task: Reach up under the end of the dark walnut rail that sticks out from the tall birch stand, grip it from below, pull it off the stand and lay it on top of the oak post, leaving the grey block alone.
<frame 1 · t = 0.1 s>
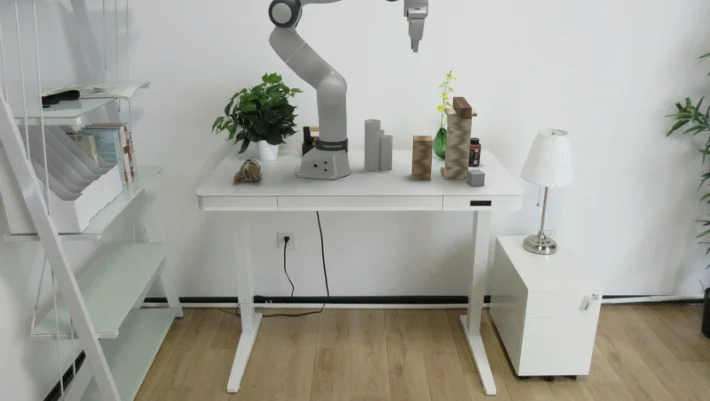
hand: (414, 50, 204), 48 cm above the table, tool pointing down, fingers open, 8 cm apart
oak post: (421, 177, 217), on the table
walnut rail: (461, 112, 207), point 26 cm above the table, touching birch stand
vase: (377, 168, 228), on the table
birch stand: (455, 175, 220), on the table
supplement bottle: (472, 165, 233), on the table
ceramic sculpture: (250, 180, 215), on the table
grey block: (474, 184, 210), on the table
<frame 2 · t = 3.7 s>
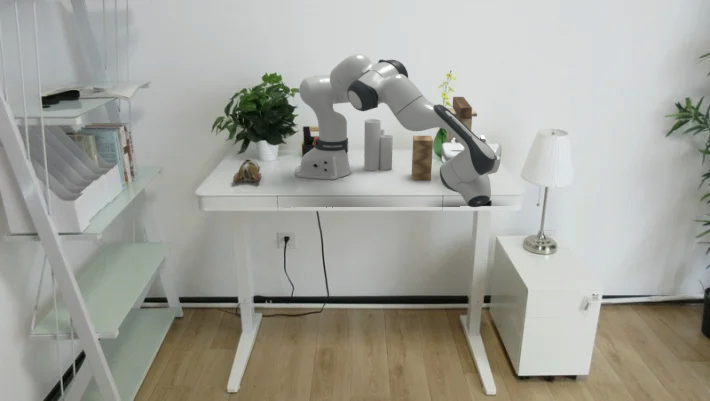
hand: (468, 136, 192), 22 cm above the table, tool pointing upward, fingers open, 8 cm apart
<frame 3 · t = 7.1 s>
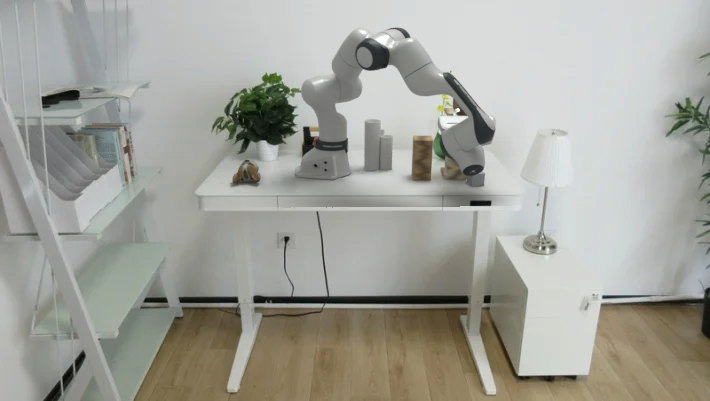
hand: (464, 110, 200), 28 cm above the table, tool pointing upward, fingers closed on walnut rail, 4 cm apart
walnut rail: (461, 112, 207), point 26 cm above the table, touching birch stand, gripper
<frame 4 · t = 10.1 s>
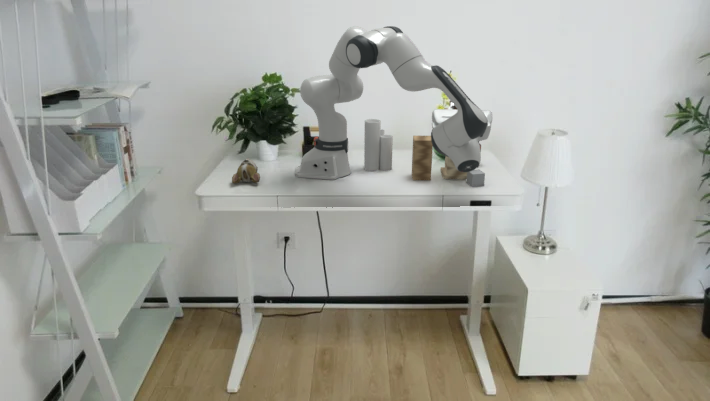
hand: (460, 103, 192), 32 cm above the table, tool pointing upward, fingers closed on walnut rail, 4 cm apart
walnut rail: (457, 112, 199), point 28 cm above the table, tilted 11°, touching gripper
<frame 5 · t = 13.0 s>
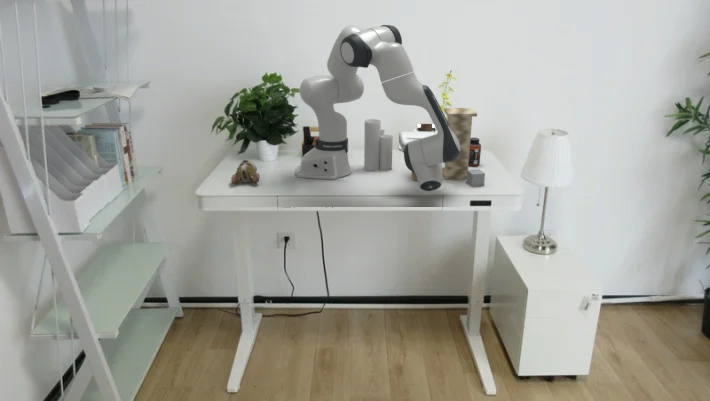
hand: (425, 125, 203), 23 cm above the table, tool pointing upward, fingers closed on walnut rail, 4 cm apart
walnut rail: (423, 135, 209), point 17 cm above the table, tilted 16°, touching gripper
when the fingers open (20 cm above the table, at t = 14.5 s): walnut rail stays where it is, resting on oak post.
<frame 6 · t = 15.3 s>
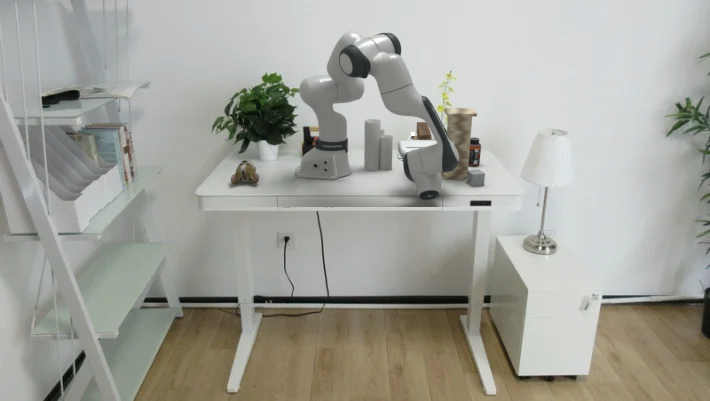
hand: (424, 133, 204), 19 cm above the table, tool pointing upward, fingers open, 8 cm apart
walnut rail: (423, 138, 211), point 16 cm above the table, touching oak post
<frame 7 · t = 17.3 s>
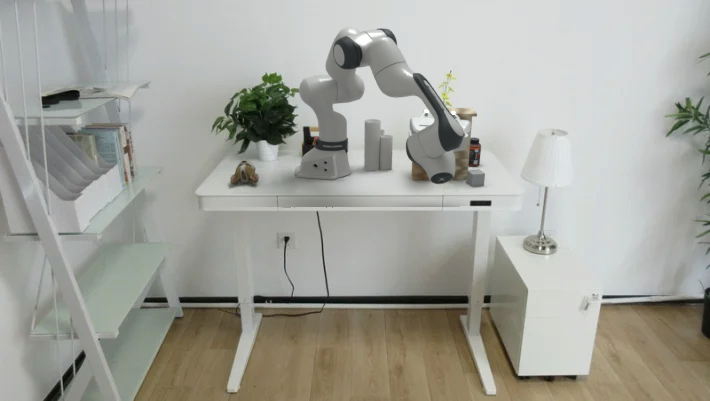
hand: (439, 111, 188), 31 cm above the table, tool pointing upward, fingers open, 8 cm apart
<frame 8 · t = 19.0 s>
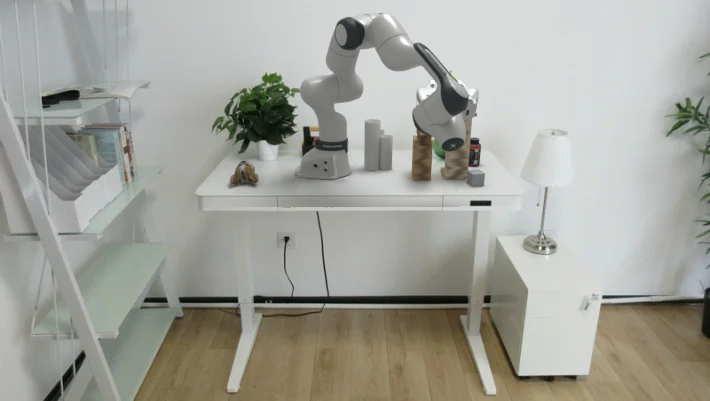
hand: (445, 82, 185), 40 cm above the table, tool pointing upward, fingers open, 8 cm apart
at the end: walnut rail inside the target area (0.8 cm from its centre), point 16.0 cm above the table; the gripper is holding nothing; grey block moved 0.1 cm from its start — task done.
